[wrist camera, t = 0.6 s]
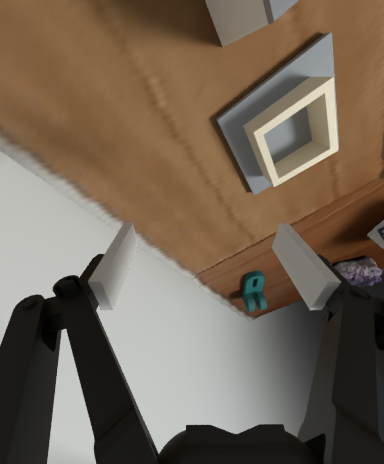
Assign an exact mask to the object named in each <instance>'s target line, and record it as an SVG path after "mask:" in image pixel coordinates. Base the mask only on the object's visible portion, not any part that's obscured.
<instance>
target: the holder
mask: <svg viewBox="0 0 384 464" xmlns="http://www.w3.org/2000/svg"><path fill="white" fill-rule="evenodd" d="M216 121H217V123H218V125H219V127H220V129H221V131H222V133H223V135H224V137H225V139H226V141H227V143H228V145H229V147H230V149H231V151H232V153H233V155H234V157H235V159H236V161H237V163H238V165H239V167H240V169H241V171H242V173H243V175H244V177H245V179H246V181H247V183H248V185H249V187H250V189H251V191H252V193H253V194H254V195H256V194H258V193H259V192H261V191H263V190H265V189H266V188H268V187H270V186H271V185H273V187H276V186H277V185H279V184H281V183H282V182H284V181H286V180H288V179H289V178H291V177H293V176H295V175H296V174H298V173H300V172H302V171H303V170H305V169H307V168H309V167H310V166H312V165H314V164H315V163H317V162H319V161H321V160H322V159H324V158H326V157H328V156H329V155H331V154H333V153H335V152H336V151H338V146H339V140H338V124H337V108H336V92H335V77H334V61H333V45H332V32H329V33H325V34H323V35H322V36H321V37H319V38H318V39H317V40H316V41H314V42H313V43H312V44H311V45H309V46H308V47H307V48H305V49H304V50H303V51H302V52H300V53H299V54H298V55H296V56H295V57H294V58H293V59H291V60H290V61H289V62H288V63H286V64H285V65H284V66H282V67H281V68H280V69H279V70H277V71H276V72H275V73H273V74H272V75H271V76H270V77H268V78H267V79H266V80H264V81H263V82H262V83H261V84H259V85H258V86H257V87H256V88H254V89H253V90H252V91H250V92H249V93H248V94H247V95H245V96H244V97H243V98H241V99H240V100H239V101H238V102H236V103H235V104H234V105H233V106H231V107H230V108H229V109H227V110H226V111H225V112H224V113H222V114H221V115H220V116H218V117H217V118H216Z"/></svg>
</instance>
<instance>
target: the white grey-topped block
mask: <svg viewBox="0 0 384 464" xmlns="http://www.w3.org/2000/svg"><path fill="white" fill-rule="evenodd" d="M297 1H298V0H205V2H206V5H207V7H208V10H209V13H210V15H211V18H212V21H213V23H214V26H215V29H216V31H217V34H218V37H219V39H220V42H221V45H222V47H224V46H226V45H228V44H230V43H232V42H234V41H236V40H238V39H240V38H242V37H244V36H246V35H248V34H250V33H252V32H254V31H256V30H258V29H260V28H262V27H264V26H266V25H268V24H270V23H272V22H274V21H275V20H276V19H278V18H279V17H280V16H281V15H282V14H283V13H284V12H286V11H287V10H288V9H289V8H290V7H291V6H292V5H294V4H295V3H296V2H297Z"/></svg>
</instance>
